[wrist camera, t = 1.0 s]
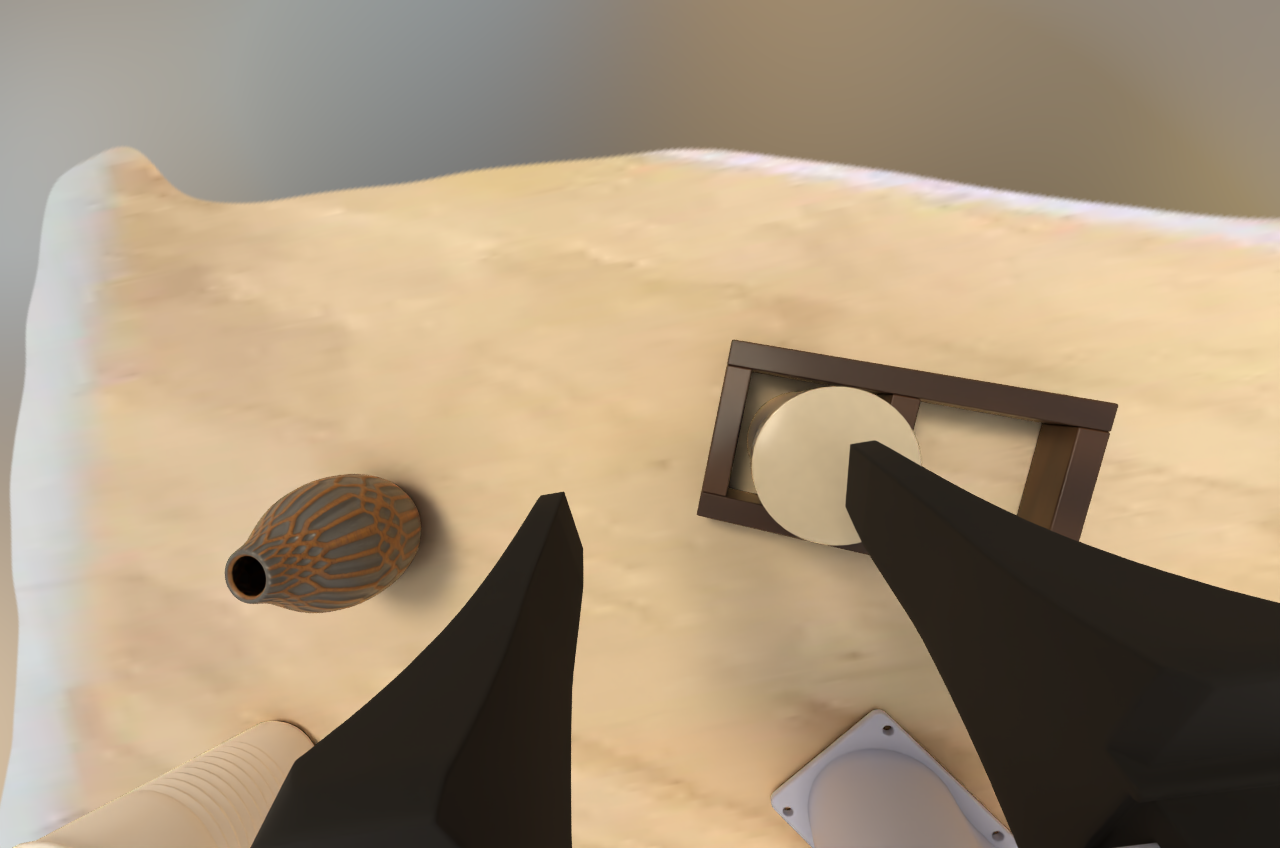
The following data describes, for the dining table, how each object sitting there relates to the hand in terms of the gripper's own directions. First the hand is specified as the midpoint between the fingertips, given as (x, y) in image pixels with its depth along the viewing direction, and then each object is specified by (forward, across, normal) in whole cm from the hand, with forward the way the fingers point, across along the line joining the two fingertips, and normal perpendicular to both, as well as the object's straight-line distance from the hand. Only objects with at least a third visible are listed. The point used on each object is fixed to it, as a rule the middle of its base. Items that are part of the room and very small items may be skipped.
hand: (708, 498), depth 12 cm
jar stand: (+10, -9, +8) cm, 15 cm away
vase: (+13, +18, +9) cm, 24 cm away
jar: (+11, -6, +7) cm, 14 cm away
